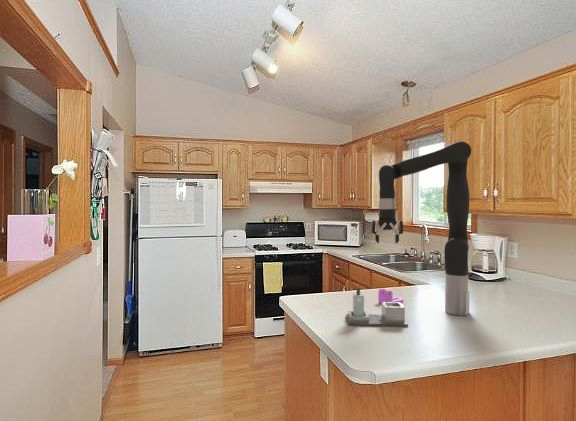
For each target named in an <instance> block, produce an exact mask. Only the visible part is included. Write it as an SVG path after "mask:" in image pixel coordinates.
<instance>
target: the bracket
mask: <svg viewBox="0 0 576 421" xmlns="http://www.w3.org/2000/svg"><path fill="white" fill-rule="evenodd" d="M382 302H400V303H401V304H402V303H404V298H403V297H399V296H394V297H393V291H392V290H390V289H387V290H386V289H385V288H379V290H378V304H381V303H382Z"/></svg>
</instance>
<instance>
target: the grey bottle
mask: <svg viewBox="0 0 576 421" xmlns="http://www.w3.org/2000/svg"><path fill="white" fill-rule="evenodd" d="M352 311H353V316H364V311H365V296H364V294H363V292H362V293H361V286H357V287H356V292H355V293H352Z"/></svg>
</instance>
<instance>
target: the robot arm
mask: <svg viewBox="0 0 576 421" xmlns="http://www.w3.org/2000/svg"><path fill="white" fill-rule="evenodd" d="M471 155H472V148H471V145H470V144H469V143H467V142H466V141H456V142H453V143H452V144H450V145H447V146H446V147H443V148H440V149H438V150H435V151H432V152H429V153H425V154H422V155H418V156H414V157H411V158H408V159H403V160H401V161H399V163H395V164H391V165H389V164H385V165H383V166H381V167H380V169H379V170H378V180H379V181H378V182H379V192H378V193H379V198H378V199H379V200H378V220H377V221H376V220H372V221H371V231H370V232H371V234H374V236H375V238H374V239H375V242H376V243H377V244H379V243H380V233H381V232H382V231H393V232H394V233H395V234H394V243H395V244H398V242H399V241H400V235H402V234H404V223H403V220H397V219H396V214H397V213H396V210H397V209H396V204H397V203H396V190H395V180H396V179H399V178H402V177H405V176H410V175H413V174H417V173H421V172H423V171H426V170H428V169H431V168H434V167H437V166H440V165H445V164H447V165H448V167H447V168H448V178H447V187H446V188H447V189H446V204H445V206H446V213H447V220H448V236H447V237H448V238H447V241H446V243H445V245H444V253H443V254H444V270H445V271H444V276H445V277H444V278H445V281H444V282H445V283H444V284H445V286H444V293H445V294H444V297H445V299H444V304H445V306H444V308H445V310H444V311H445V313H446V314H449V315H454V316H465V317H466V316H468V314H470V291H469V264H468V263H469V260H468V259H469V251H470V250H469V249H470V246H469V239H468V220H469V212H470V188H469V182H468V176H467V171H468V170H467V169H468V162H469V158H470V157H471ZM377 225H378V226H379V227H378V228H377V230H376V226H377ZM396 225H397V226H398V227H399V228H398V229H399V231H398V229H397V228H396Z"/></svg>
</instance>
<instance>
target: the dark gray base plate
mask: <svg viewBox="0 0 576 421" xmlns="http://www.w3.org/2000/svg"><path fill="white" fill-rule="evenodd" d="M405 311H406V308H405V306H404V305H403V304H402V302H401V303H400V302H382V304H381V314H372V313H370V314H368V312H367V311H366V310H364V316H353V310H347V313H346V314H345V317H346V318H345V319H346V321H347V324H348V326H349V327H354V326H355V327H395V328H396V327H400V328H402V327H403V328H407V327H409V323H407V321H406V319H405V317H406V312H405Z"/></svg>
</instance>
